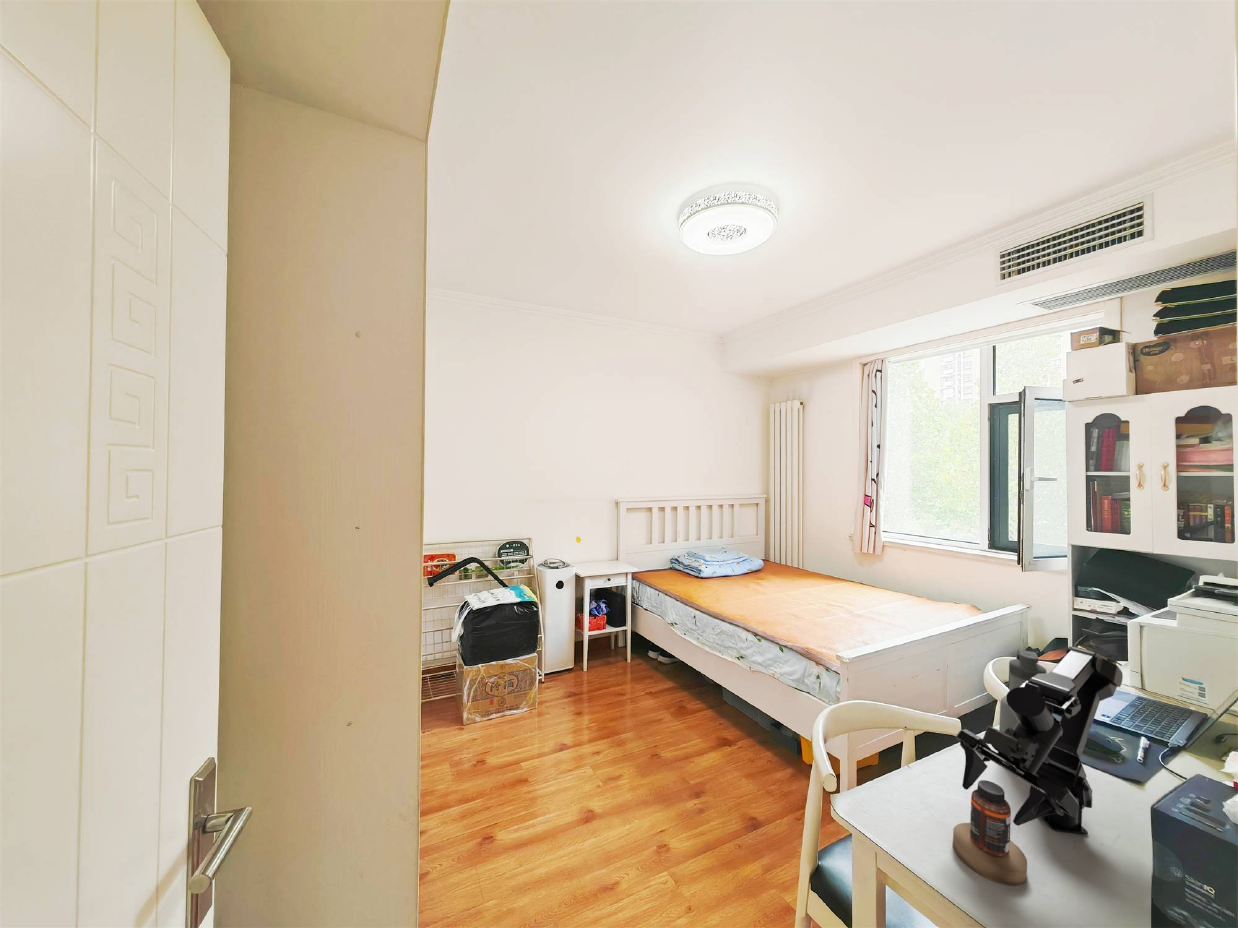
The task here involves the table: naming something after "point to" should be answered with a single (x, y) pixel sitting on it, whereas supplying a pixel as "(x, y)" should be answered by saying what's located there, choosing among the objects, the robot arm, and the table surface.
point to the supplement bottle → (990, 819)
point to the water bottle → (1018, 683)
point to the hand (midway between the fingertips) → (988, 804)
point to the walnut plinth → (990, 859)
